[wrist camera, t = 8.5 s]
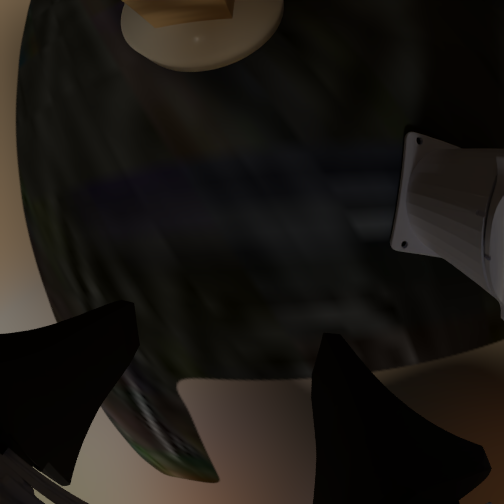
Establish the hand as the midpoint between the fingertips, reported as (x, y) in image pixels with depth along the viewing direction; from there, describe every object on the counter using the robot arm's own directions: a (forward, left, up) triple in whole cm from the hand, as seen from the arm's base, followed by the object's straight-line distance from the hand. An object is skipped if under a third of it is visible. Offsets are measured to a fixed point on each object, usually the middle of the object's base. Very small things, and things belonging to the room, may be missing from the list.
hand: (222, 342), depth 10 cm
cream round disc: (+5, -18, -10) cm, 21 cm away
